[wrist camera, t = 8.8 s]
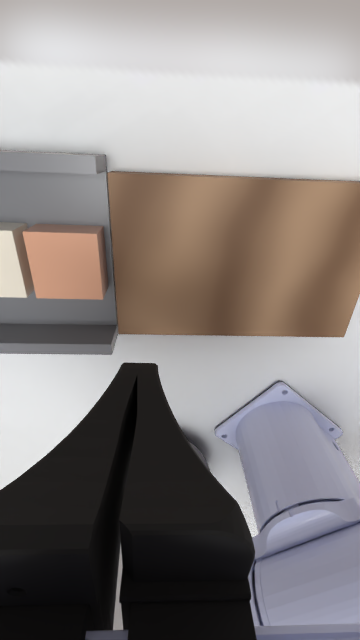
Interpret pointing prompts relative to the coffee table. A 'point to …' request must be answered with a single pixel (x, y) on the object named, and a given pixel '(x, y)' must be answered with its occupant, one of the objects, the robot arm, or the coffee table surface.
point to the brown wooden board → (234, 254)
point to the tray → (62, 209)
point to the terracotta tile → (67, 261)
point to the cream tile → (14, 262)
